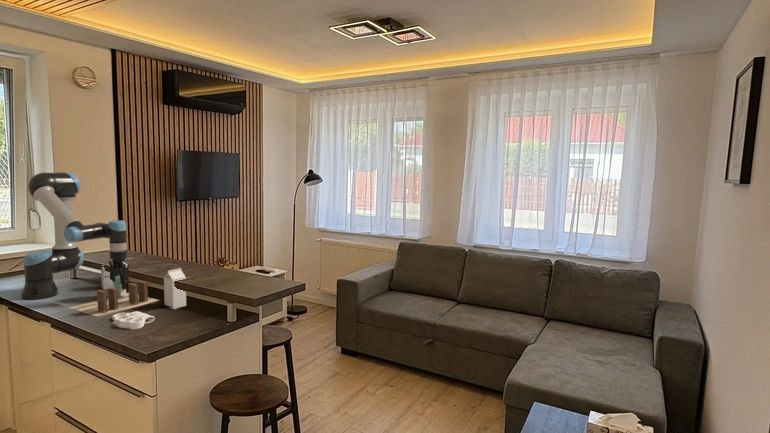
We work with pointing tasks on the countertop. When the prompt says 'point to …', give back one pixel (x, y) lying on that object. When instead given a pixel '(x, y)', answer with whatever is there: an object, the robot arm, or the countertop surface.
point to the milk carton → (174, 289)
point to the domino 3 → (118, 284)
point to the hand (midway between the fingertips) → (119, 294)
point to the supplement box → (106, 279)
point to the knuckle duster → (132, 319)
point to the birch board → (122, 305)
